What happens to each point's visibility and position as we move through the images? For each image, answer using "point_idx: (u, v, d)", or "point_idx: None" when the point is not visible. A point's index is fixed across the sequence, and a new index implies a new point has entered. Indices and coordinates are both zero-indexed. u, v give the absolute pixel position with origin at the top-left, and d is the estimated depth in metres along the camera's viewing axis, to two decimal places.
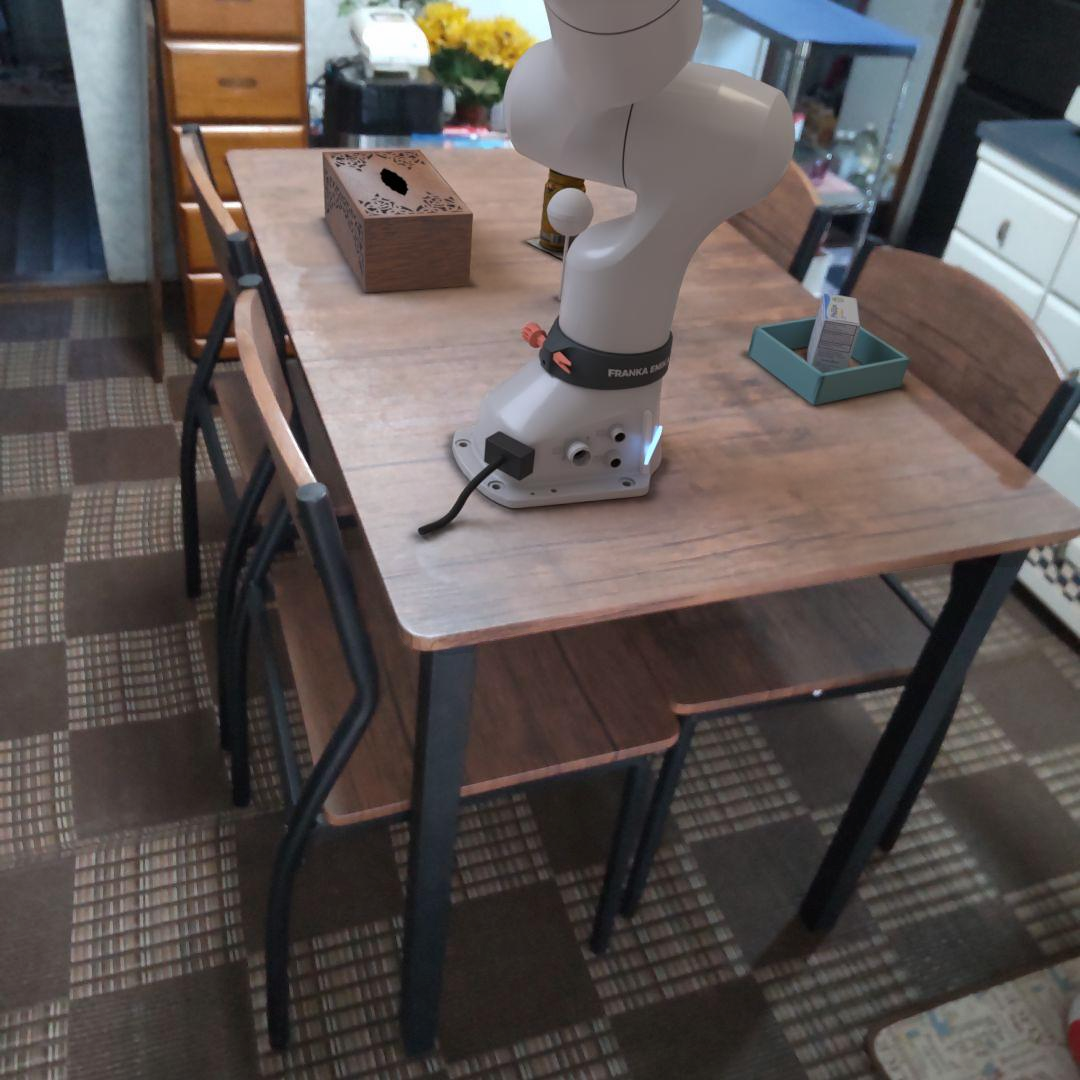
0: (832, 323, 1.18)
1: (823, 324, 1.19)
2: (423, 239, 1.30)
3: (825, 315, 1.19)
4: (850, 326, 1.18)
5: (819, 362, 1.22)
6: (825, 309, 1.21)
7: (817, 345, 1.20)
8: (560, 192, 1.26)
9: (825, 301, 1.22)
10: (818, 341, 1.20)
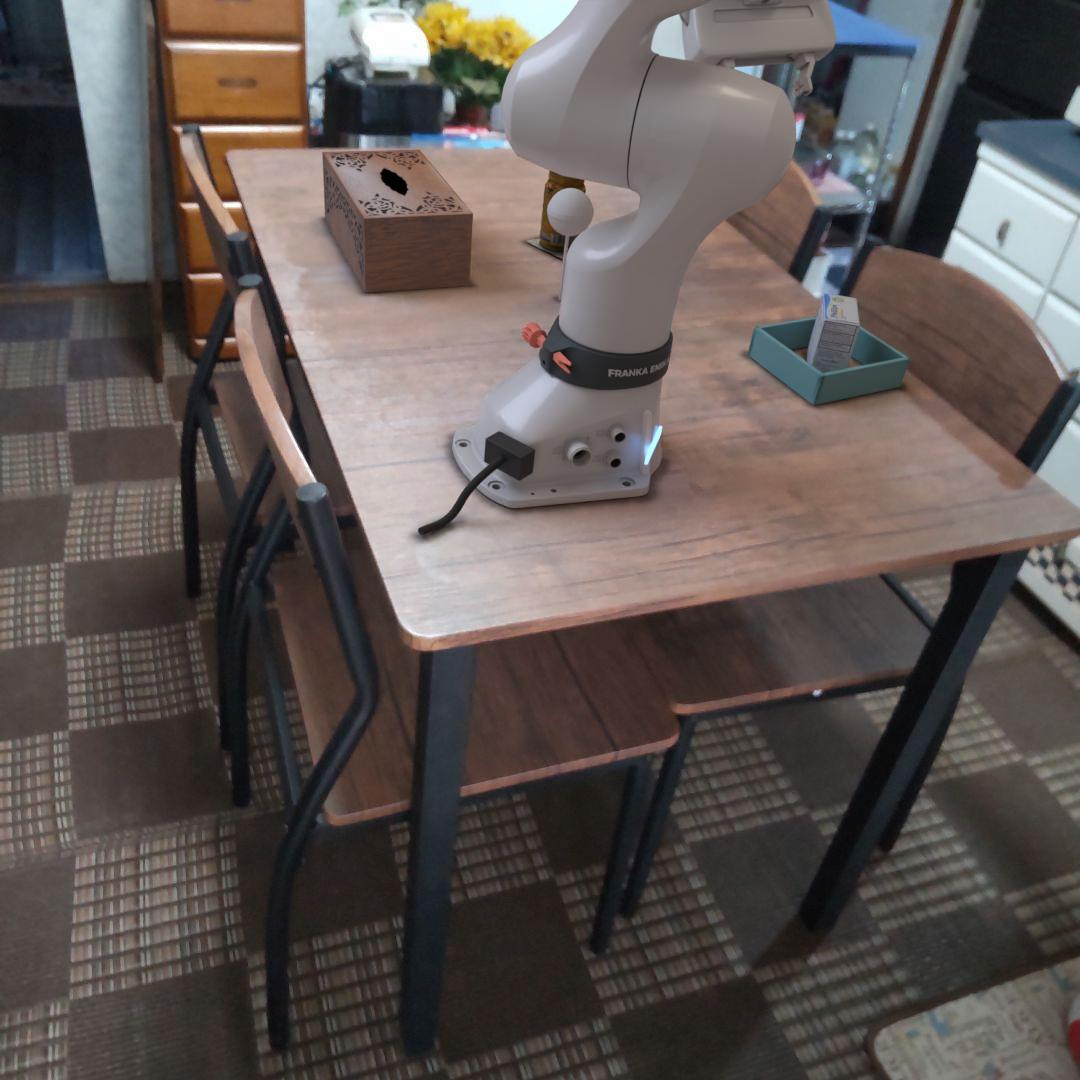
0: (832, 323, 1.18)
1: (823, 324, 1.19)
2: (423, 239, 1.30)
3: (825, 315, 1.19)
4: (850, 326, 1.18)
5: (819, 362, 1.22)
6: (825, 309, 1.21)
7: (817, 345, 1.20)
8: (560, 192, 1.26)
9: (825, 301, 1.22)
10: (818, 341, 1.20)
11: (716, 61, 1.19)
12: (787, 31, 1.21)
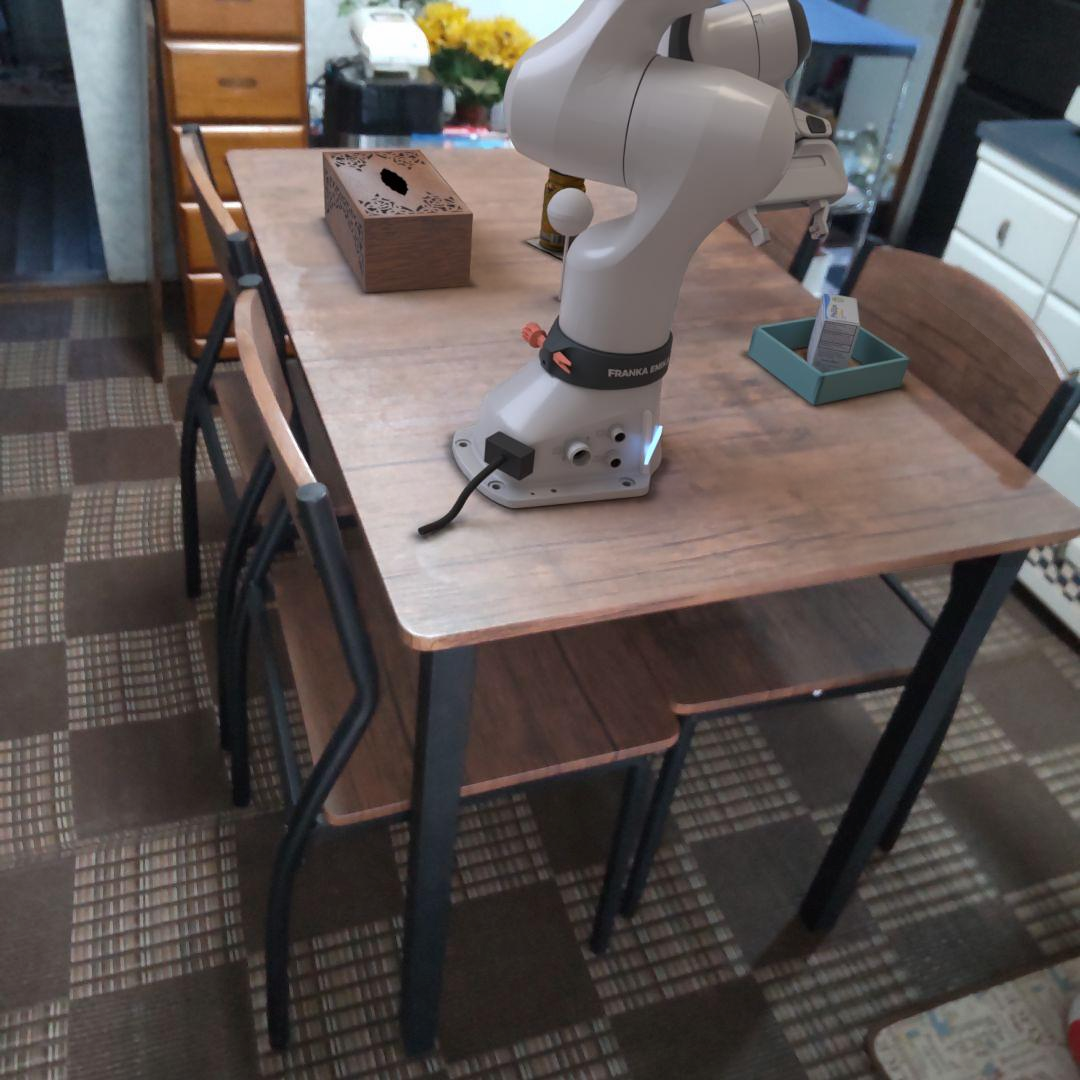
0: (832, 323, 1.18)
1: (823, 324, 1.19)
2: (423, 239, 1.30)
3: (825, 315, 1.19)
4: (850, 326, 1.18)
5: (819, 362, 1.22)
6: (825, 309, 1.21)
7: (817, 345, 1.20)
8: (560, 192, 1.26)
9: (825, 301, 1.22)
10: (818, 341, 1.20)
11: None
12: (803, 179, 1.26)
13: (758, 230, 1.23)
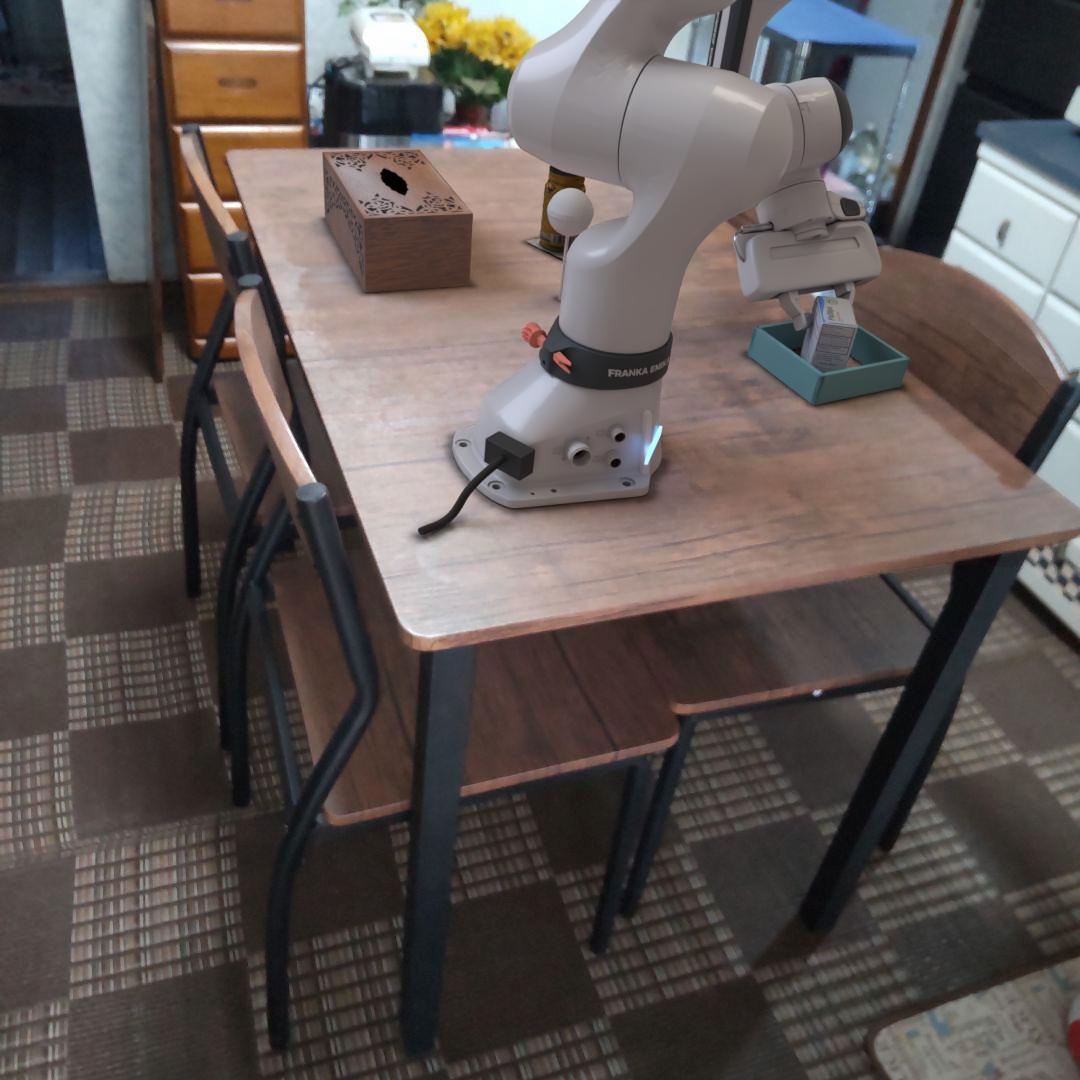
0: (830, 326, 1.18)
1: (821, 327, 1.18)
2: (423, 239, 1.30)
3: (822, 318, 1.18)
4: (848, 329, 1.18)
5: (817, 366, 1.21)
6: (821, 312, 1.20)
7: (815, 348, 1.20)
8: (560, 192, 1.26)
9: (820, 303, 1.22)
10: (816, 344, 1.19)
11: (773, 295, 1.21)
12: (837, 263, 1.24)
13: (800, 315, 1.22)
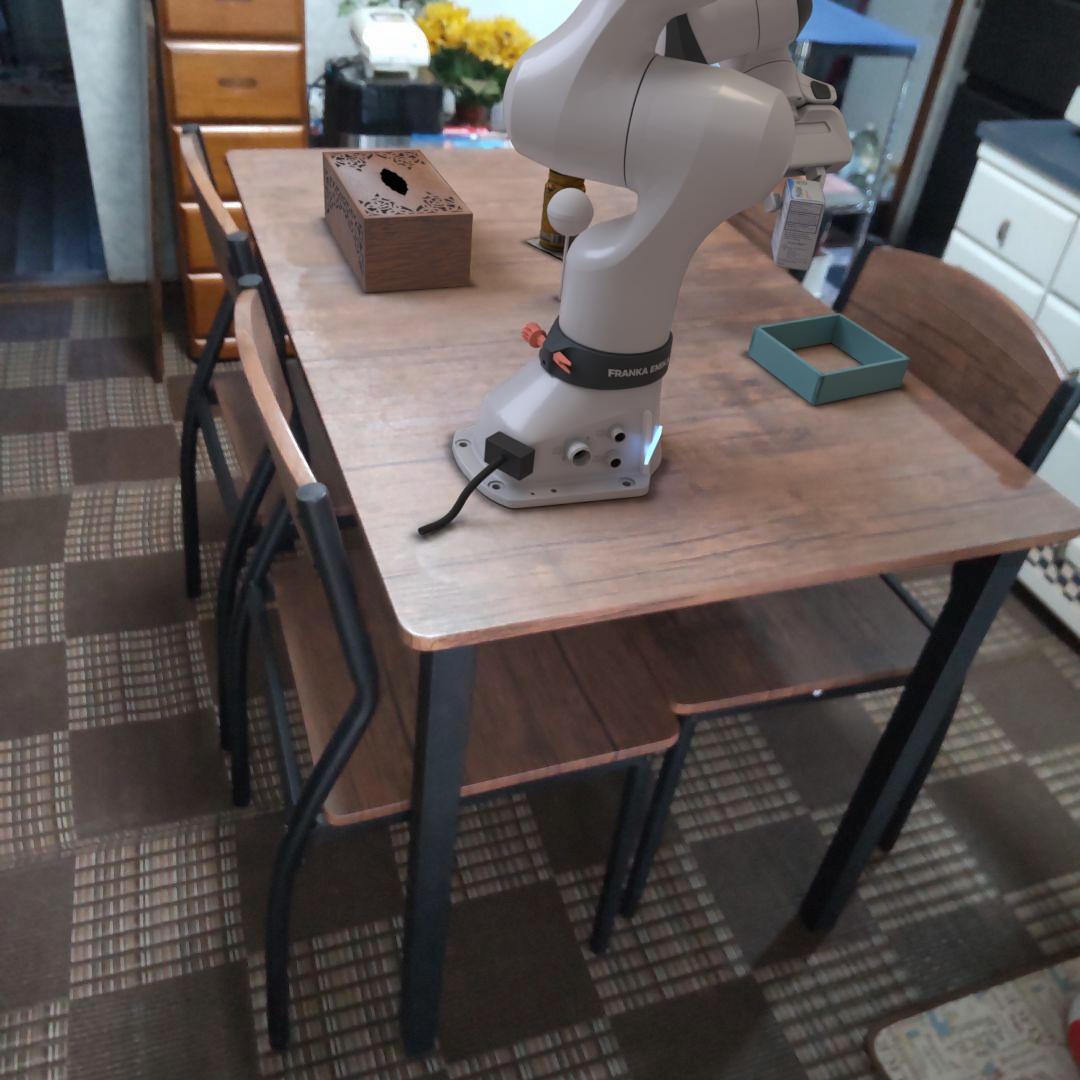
0: (798, 202, 1.18)
1: (789, 204, 1.18)
2: (423, 239, 1.30)
3: (790, 195, 1.18)
4: (816, 205, 1.18)
5: (786, 245, 1.21)
6: (790, 191, 1.20)
7: (783, 227, 1.20)
8: (560, 192, 1.26)
9: (789, 184, 1.22)
10: (784, 223, 1.19)
11: None
12: (807, 146, 1.24)
13: (769, 196, 1.22)
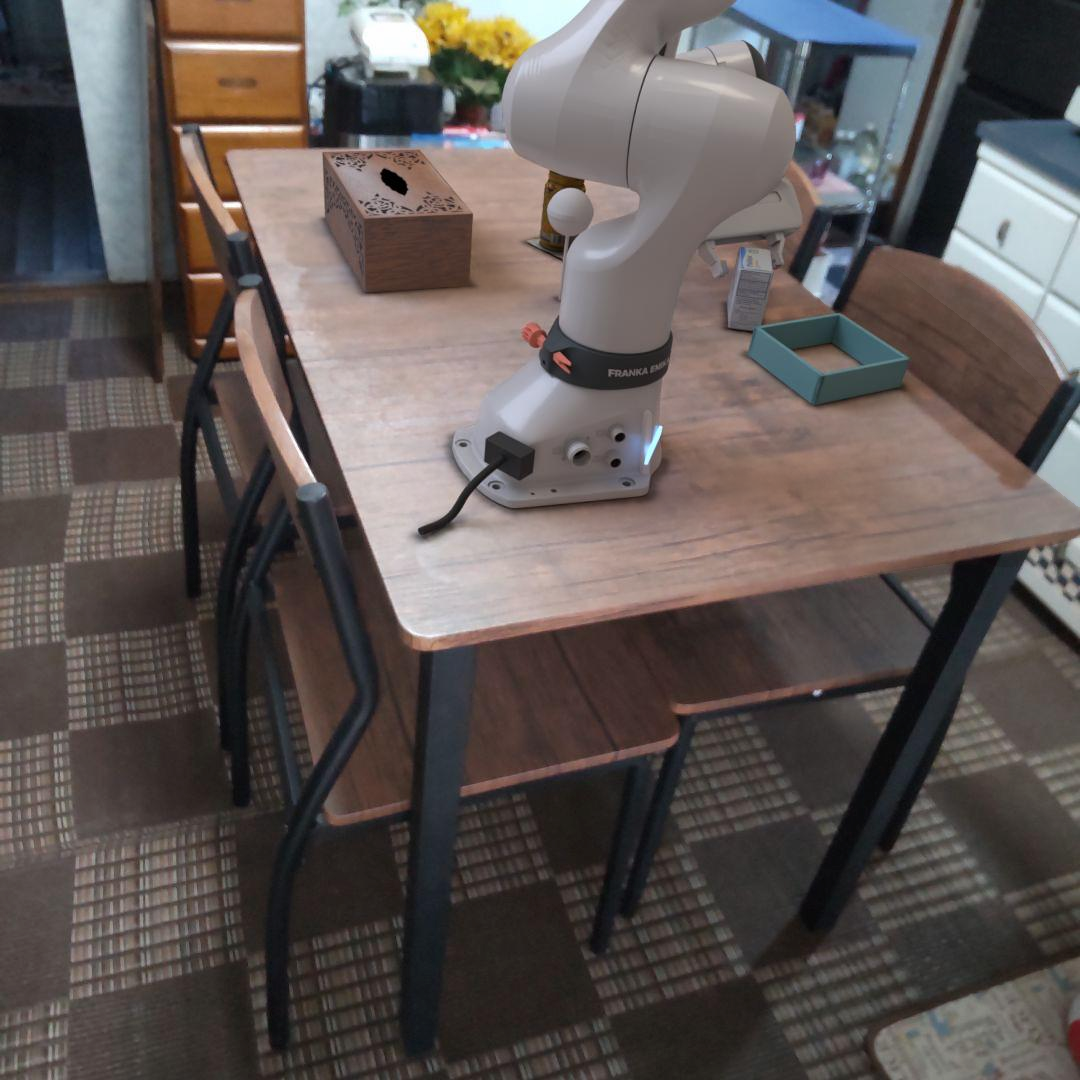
0: (748, 272, 1.28)
1: (740, 273, 1.29)
2: (423, 239, 1.30)
3: (741, 265, 1.29)
4: (764, 274, 1.28)
5: (738, 310, 1.31)
6: (741, 260, 1.30)
7: (735, 293, 1.30)
8: (560, 192, 1.26)
9: (741, 253, 1.32)
10: (736, 289, 1.30)
11: None
12: (759, 215, 1.34)
13: (716, 263, 1.32)
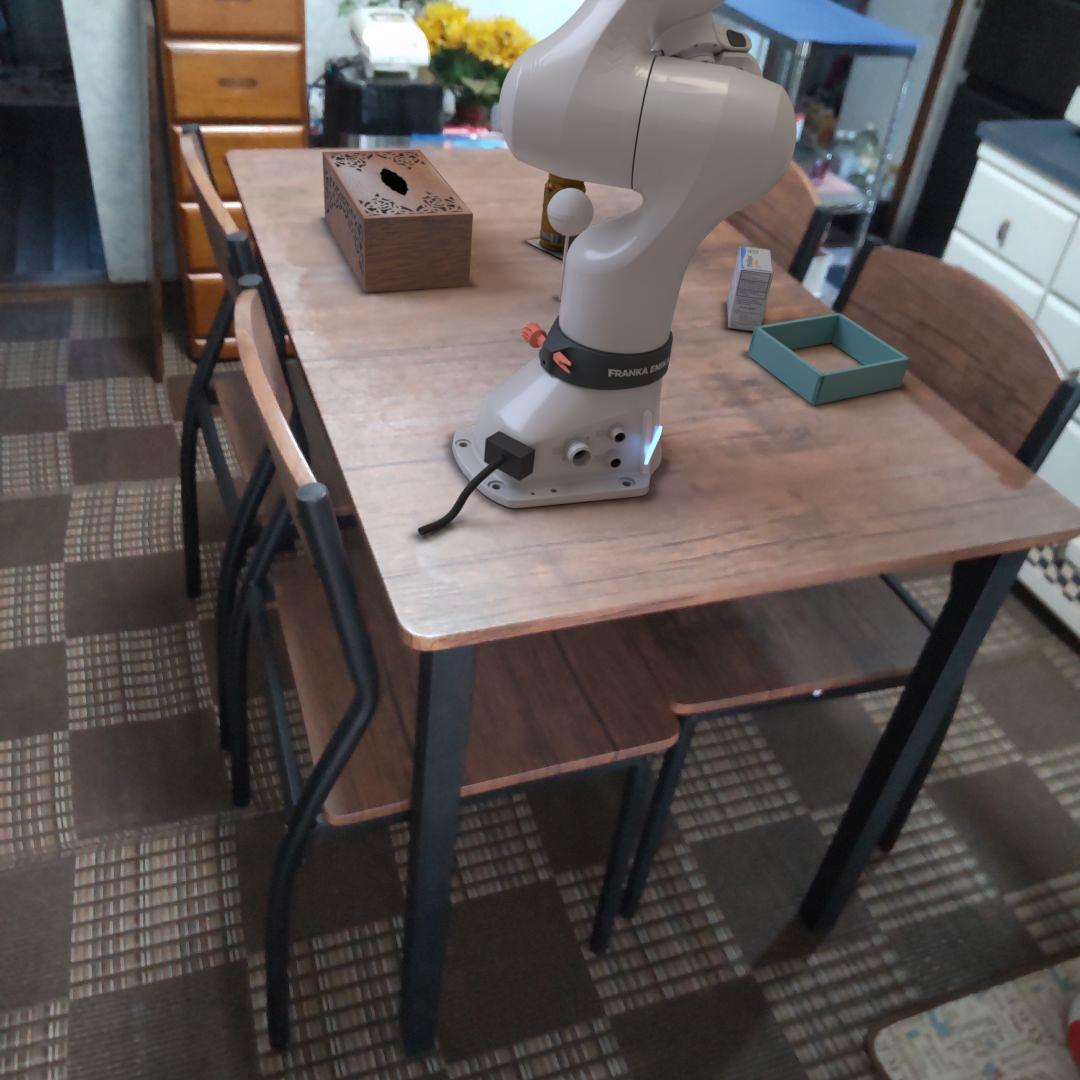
0: (748, 272, 1.28)
1: (740, 273, 1.29)
2: (423, 239, 1.30)
3: (741, 265, 1.29)
4: (764, 274, 1.28)
5: (738, 310, 1.31)
6: (741, 260, 1.30)
7: (735, 293, 1.30)
8: (560, 192, 1.26)
9: (741, 253, 1.32)
10: (736, 289, 1.30)
11: None
12: None
13: None
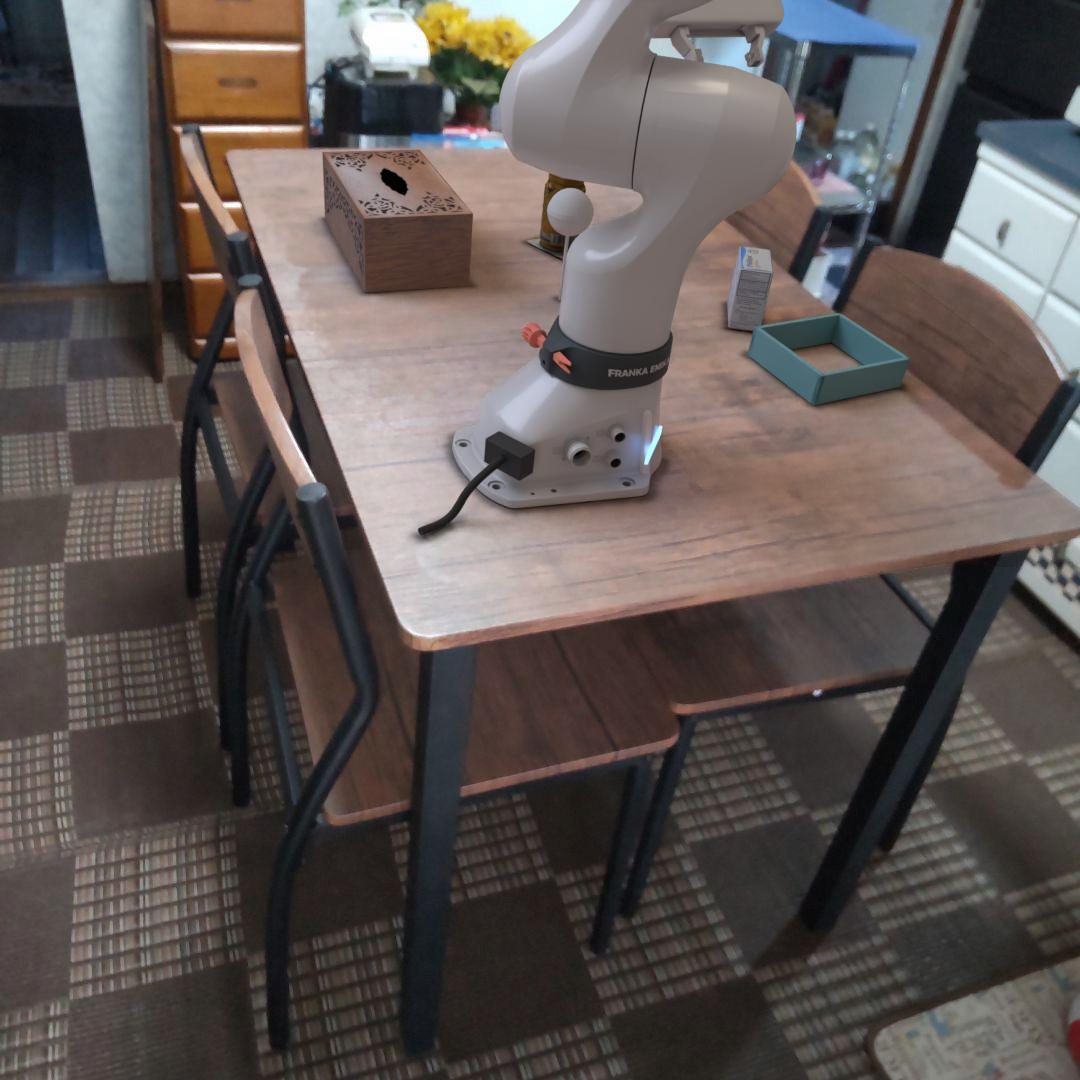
0: (748, 272, 1.28)
1: (740, 273, 1.29)
2: (423, 239, 1.30)
3: (741, 265, 1.29)
4: (764, 274, 1.28)
5: (738, 309, 1.31)
6: (741, 260, 1.30)
7: (735, 293, 1.30)
8: (560, 192, 1.26)
9: (741, 253, 1.32)
10: (736, 289, 1.30)
11: (671, 28, 1.22)
12: (737, 3, 1.25)
13: (691, 51, 1.22)
